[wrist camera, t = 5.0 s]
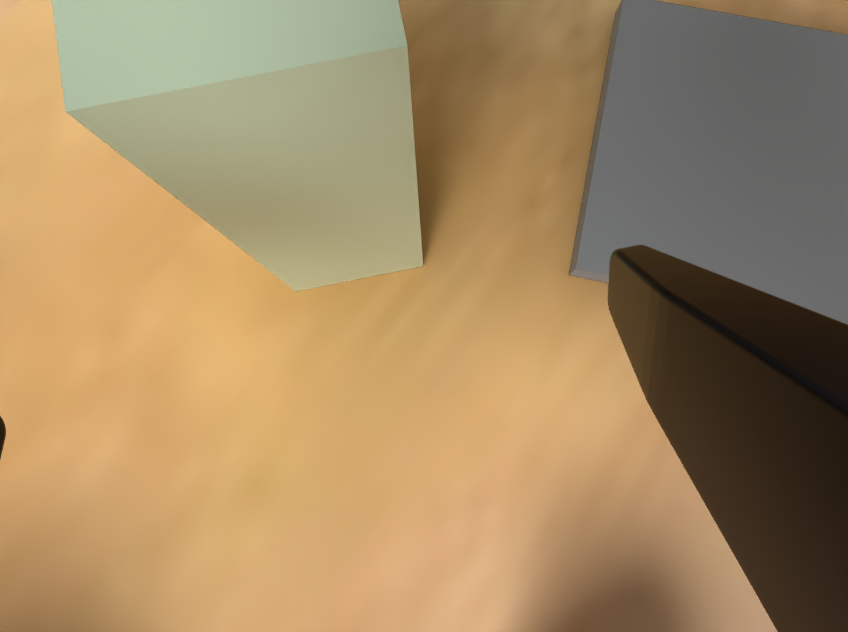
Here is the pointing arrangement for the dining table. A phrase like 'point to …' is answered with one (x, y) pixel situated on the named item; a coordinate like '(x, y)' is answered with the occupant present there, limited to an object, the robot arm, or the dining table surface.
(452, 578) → the dining table surface
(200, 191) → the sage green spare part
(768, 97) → the slate grey pad
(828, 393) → the robot arm
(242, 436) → the dining table surface
